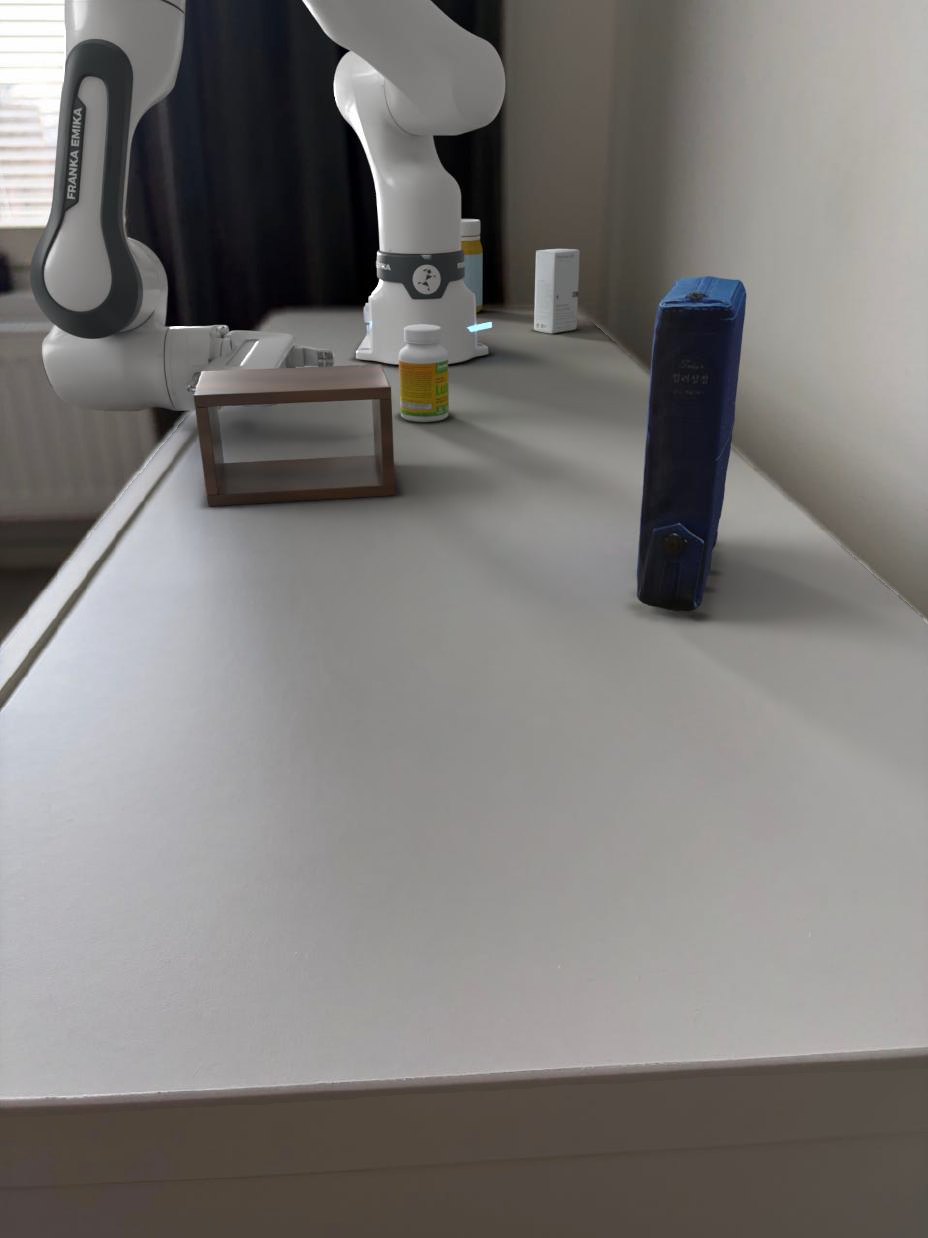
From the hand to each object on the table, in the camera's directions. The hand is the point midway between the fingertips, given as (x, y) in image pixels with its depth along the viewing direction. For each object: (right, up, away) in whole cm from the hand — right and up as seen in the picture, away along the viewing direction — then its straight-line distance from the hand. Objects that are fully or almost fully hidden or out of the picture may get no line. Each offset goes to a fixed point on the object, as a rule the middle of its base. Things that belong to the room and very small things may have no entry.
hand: (330, 366), depth 105 cm
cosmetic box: (+29, +19, +50) cm, 61 cm away
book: (+30, -25, -36) cm, 52 cm away
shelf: (0, -15, -18) cm, 23 cm away
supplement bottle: (+10, -5, +3) cm, 12 cm away
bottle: (+14, +27, +66) cm, 73 cm away
